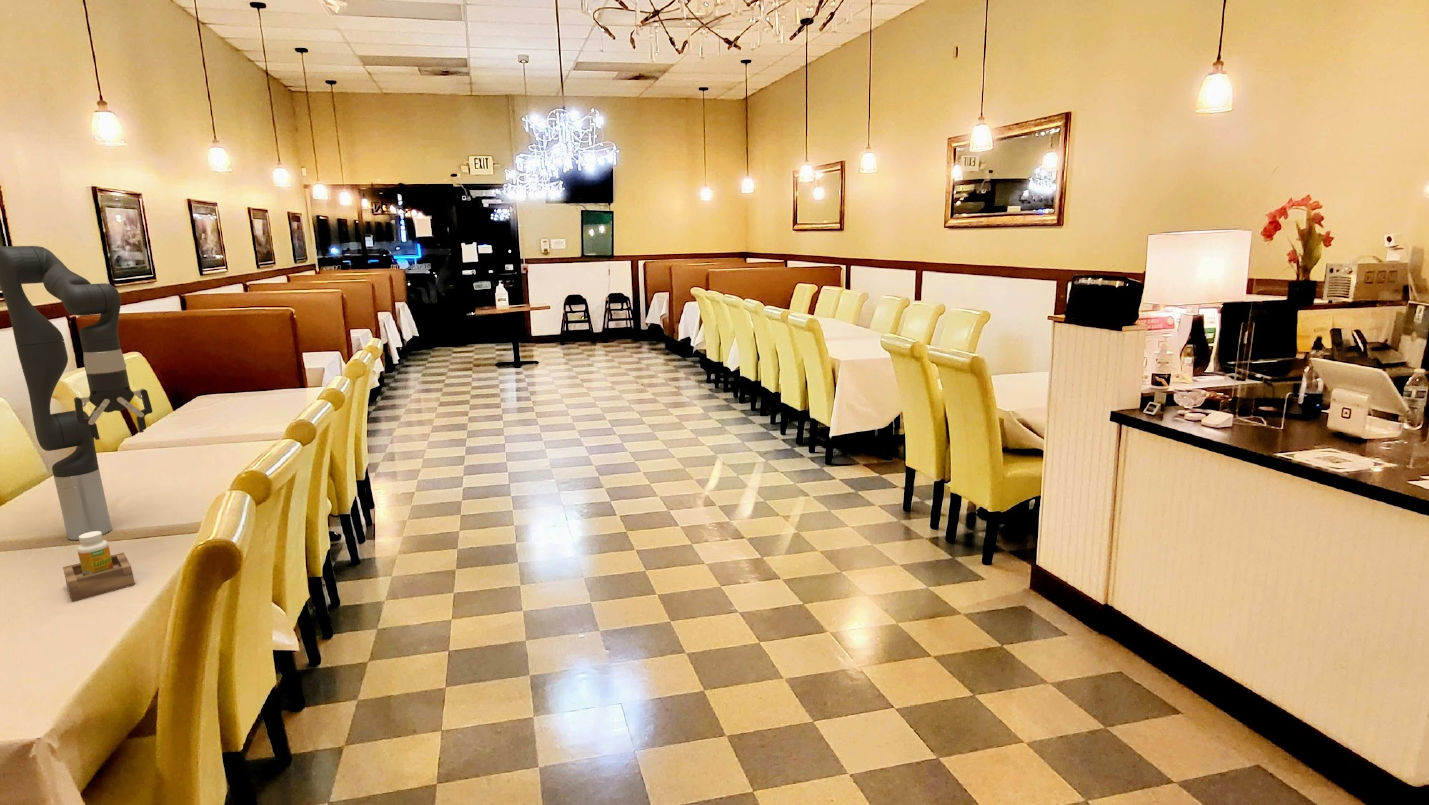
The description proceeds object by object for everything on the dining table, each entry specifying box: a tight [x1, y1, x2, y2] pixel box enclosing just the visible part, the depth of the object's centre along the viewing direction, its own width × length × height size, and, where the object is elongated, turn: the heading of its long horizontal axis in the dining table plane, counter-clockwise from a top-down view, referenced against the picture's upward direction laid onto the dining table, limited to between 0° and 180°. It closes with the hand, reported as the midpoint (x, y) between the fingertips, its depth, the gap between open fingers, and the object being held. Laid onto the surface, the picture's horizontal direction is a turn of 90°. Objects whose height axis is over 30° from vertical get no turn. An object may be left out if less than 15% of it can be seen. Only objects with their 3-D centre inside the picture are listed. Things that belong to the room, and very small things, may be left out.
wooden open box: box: [62, 551, 136, 602], centre depth 171 cm, size 11×11×4 cm
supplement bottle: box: [77, 531, 113, 576], centre depth 170 cm, size 5×5×10 cm
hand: (119, 435), depth 183 cm, fingers open, 8 cm apart
